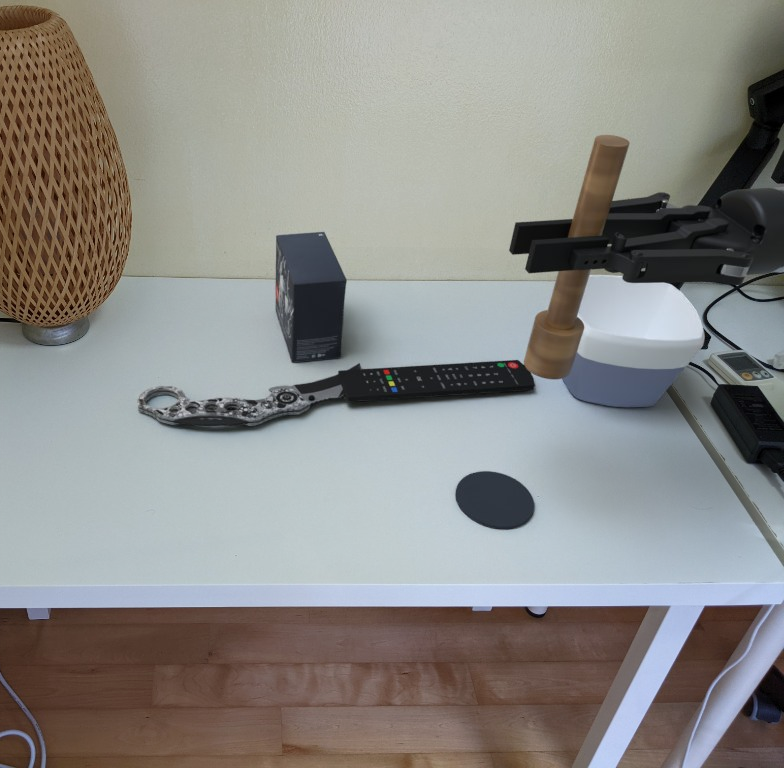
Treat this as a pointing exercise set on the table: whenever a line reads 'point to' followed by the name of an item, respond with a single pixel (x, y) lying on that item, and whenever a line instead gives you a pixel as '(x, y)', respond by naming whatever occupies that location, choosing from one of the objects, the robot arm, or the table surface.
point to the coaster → (494, 500)
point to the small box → (309, 296)
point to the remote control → (435, 380)
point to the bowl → (632, 341)
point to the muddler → (560, 322)
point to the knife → (241, 404)
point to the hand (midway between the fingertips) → (522, 247)
